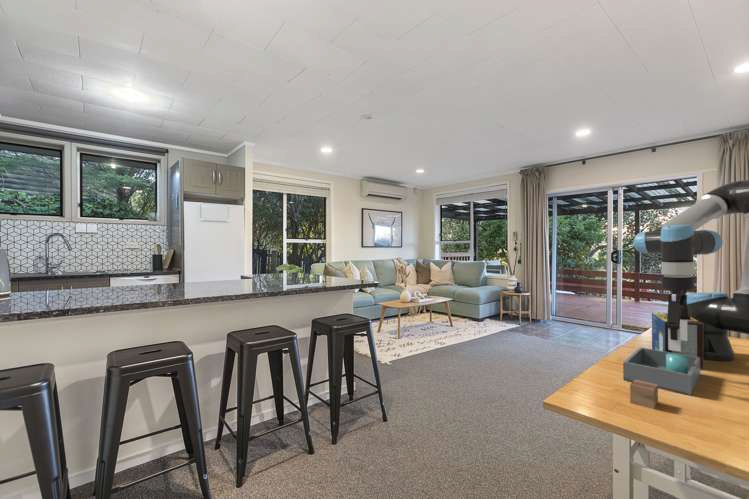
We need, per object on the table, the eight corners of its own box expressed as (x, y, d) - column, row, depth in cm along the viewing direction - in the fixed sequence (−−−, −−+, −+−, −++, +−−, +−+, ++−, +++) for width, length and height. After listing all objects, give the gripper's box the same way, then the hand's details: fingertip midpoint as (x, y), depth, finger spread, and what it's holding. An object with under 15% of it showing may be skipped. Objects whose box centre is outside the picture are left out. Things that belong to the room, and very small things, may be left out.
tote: (639, 363, 123) (639, 347, 123) (700, 375, 112) (700, 357, 112) (623, 380, 109) (623, 362, 109) (690, 395, 97) (690, 375, 97)
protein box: (686, 355, 130) (686, 314, 130) (703, 369, 116) (704, 323, 116) (651, 352, 135) (651, 312, 134) (664, 365, 121) (664, 320, 120)
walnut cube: (634, 397, 97) (634, 379, 97) (657, 403, 93) (657, 384, 93) (630, 403, 94) (630, 384, 94) (653, 409, 90) (653, 390, 90)
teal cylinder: (692, 381, 105) (692, 358, 105) (677, 382, 105) (677, 359, 105) (676, 375, 110) (676, 353, 110) (661, 376, 110) (661, 353, 110)
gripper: (668, 271, 118) (669, 334, 119) (653, 279, 101) (654, 352, 102) (698, 272, 112) (699, 338, 113) (687, 281, 96) (688, 358, 96)
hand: (678, 345), depth 107 cm, fingers open, 13 cm apart
